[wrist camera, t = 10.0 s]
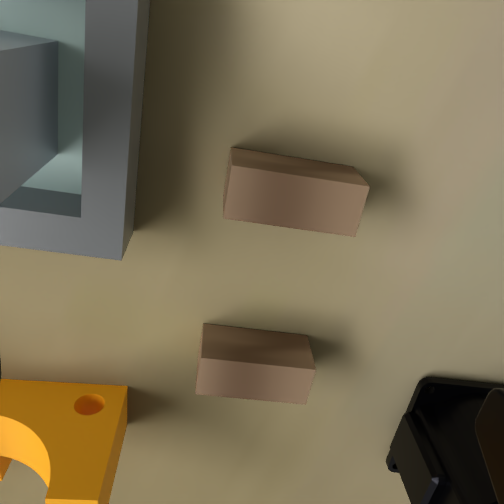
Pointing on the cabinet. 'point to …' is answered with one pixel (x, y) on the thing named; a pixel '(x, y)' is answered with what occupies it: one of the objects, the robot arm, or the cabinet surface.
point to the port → (84, 128)
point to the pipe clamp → (64, 435)
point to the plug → (26, 107)
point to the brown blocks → (285, 215)
